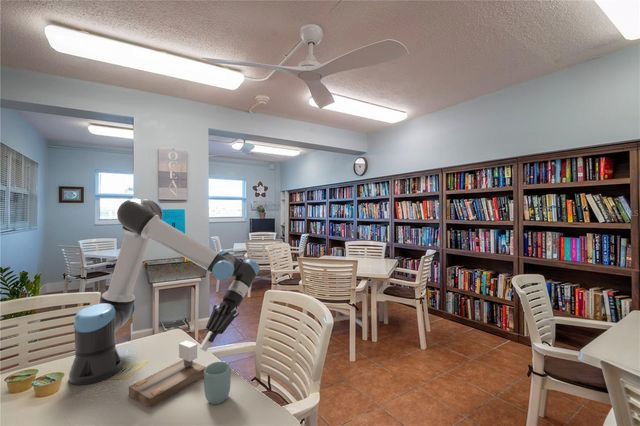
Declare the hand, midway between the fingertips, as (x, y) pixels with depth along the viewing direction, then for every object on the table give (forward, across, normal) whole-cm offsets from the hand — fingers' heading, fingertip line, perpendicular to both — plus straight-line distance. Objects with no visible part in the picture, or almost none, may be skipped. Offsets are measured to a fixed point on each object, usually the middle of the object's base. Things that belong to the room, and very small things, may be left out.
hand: (202, 349), depth 111 cm
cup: (+12, -20, +2) cm, 23 cm away
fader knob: (+6, 0, +2) cm, 7 cm away
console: (+14, 0, +5) cm, 15 cm away
